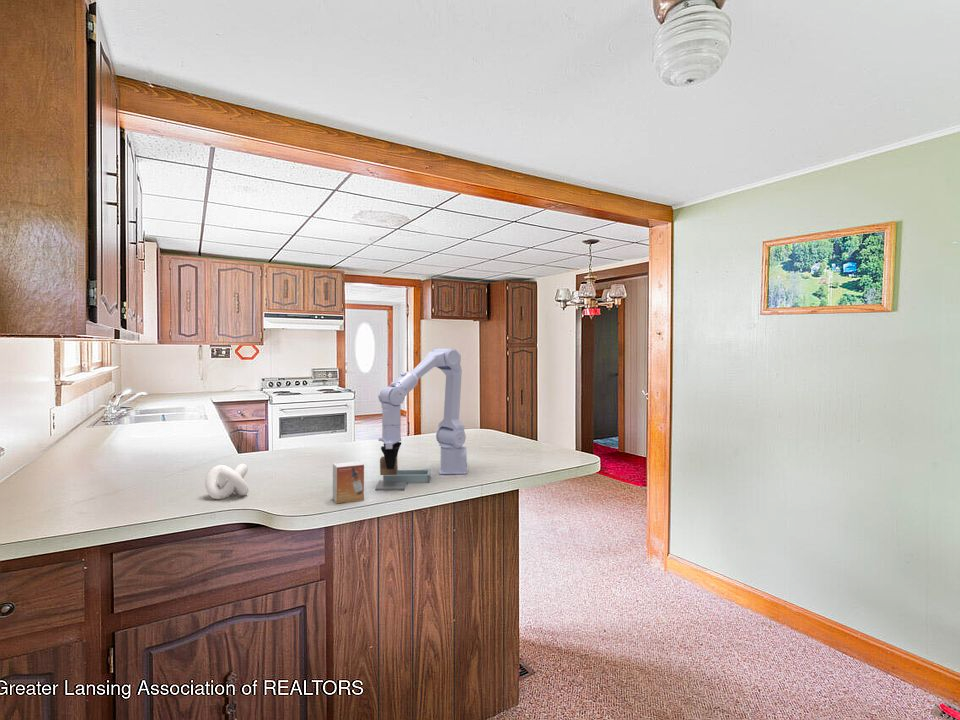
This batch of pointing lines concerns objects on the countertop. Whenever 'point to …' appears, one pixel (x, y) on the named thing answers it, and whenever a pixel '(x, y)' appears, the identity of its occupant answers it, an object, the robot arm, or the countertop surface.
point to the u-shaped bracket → (409, 476)
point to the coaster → (391, 485)
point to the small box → (348, 482)
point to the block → (384, 468)
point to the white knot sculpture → (226, 481)
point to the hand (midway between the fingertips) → (391, 467)
